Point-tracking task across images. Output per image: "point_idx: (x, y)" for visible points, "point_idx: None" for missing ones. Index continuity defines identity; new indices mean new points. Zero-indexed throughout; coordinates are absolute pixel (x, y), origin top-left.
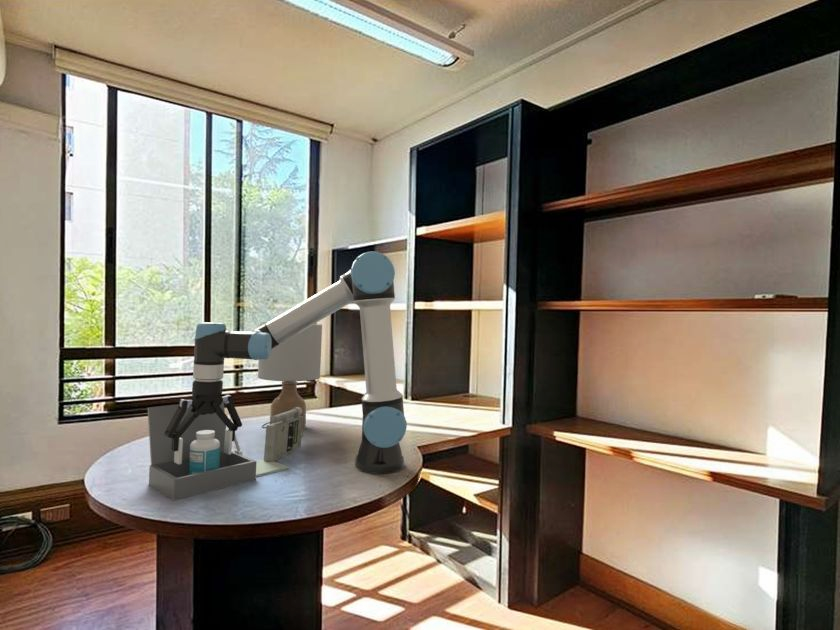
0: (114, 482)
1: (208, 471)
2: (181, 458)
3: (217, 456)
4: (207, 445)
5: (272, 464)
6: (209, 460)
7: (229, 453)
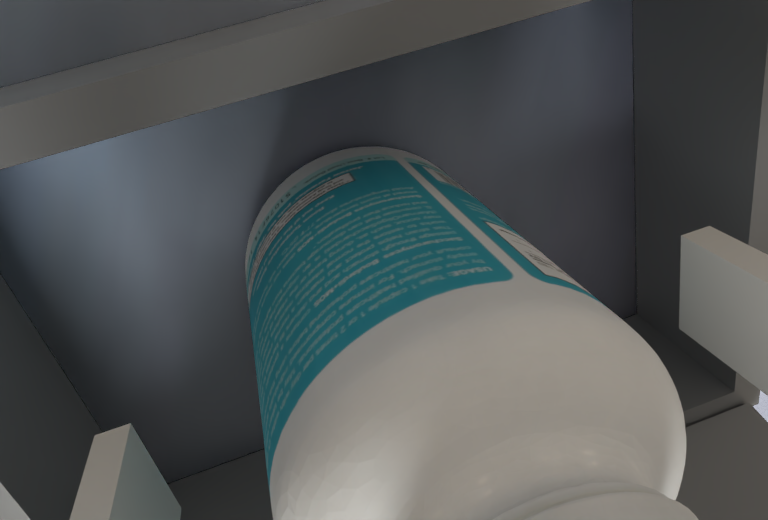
0: (759, 409)
1: (444, 12)
2: (733, 258)
3: (306, 296)
4: (539, 345)
5: None
6: (415, 224)
7: (118, 435)
